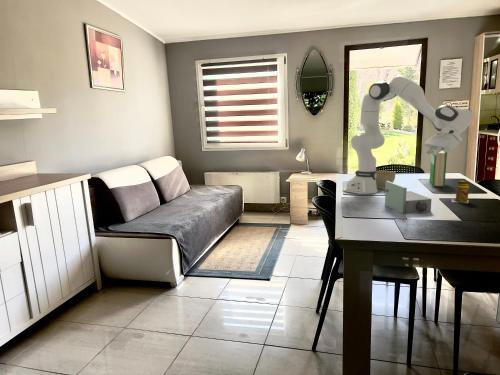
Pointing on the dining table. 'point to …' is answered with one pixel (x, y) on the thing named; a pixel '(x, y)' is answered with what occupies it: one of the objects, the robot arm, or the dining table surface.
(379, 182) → the planter bowl
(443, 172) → the hardback book
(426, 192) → the dining table surface
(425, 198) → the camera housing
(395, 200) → the side door
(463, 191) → the condiment
